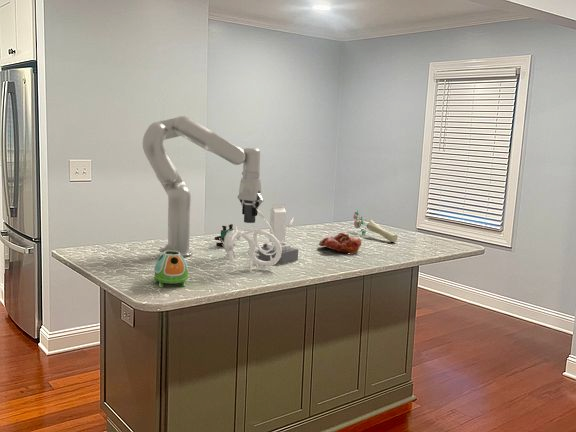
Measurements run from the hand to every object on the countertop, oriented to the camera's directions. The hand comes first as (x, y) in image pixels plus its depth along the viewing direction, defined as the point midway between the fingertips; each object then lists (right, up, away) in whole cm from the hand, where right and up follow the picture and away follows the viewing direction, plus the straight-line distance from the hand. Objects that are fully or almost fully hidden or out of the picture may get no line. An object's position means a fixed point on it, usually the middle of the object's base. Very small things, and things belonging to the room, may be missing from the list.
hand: (249, 214), depth 261 cm
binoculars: (-14, -15, +18) cm, 27 cm away
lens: (0, -3, +1) cm, 3 cm away
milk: (+12, -17, +14) cm, 25 cm away
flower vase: (+64, -13, +56) cm, 86 cm away
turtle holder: (-26, -26, -49) cm, 61 cm away
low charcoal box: (+13, -20, -5) cm, 25 cm away
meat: (+43, -18, +20) cm, 50 cm away
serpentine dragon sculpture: (+5, -22, -20) cm, 30 cm away
